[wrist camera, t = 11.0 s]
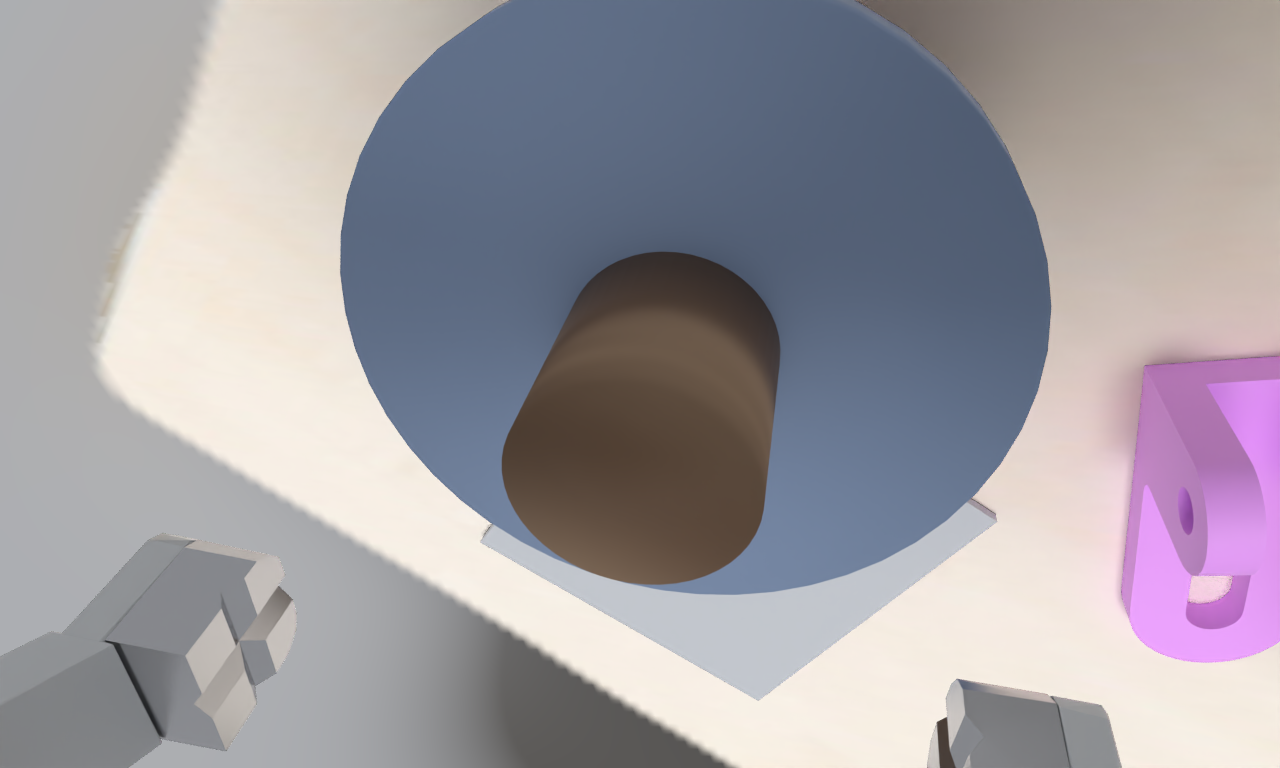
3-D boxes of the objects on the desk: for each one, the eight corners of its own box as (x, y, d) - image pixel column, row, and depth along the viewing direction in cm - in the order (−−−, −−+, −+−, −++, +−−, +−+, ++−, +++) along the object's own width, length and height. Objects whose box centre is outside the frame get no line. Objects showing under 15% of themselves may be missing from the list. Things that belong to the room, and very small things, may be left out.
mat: (664, 299, 31) (662, 304, 31) (995, 514, 33) (997, 521, 33) (483, 535, 39) (480, 542, 39) (758, 693, 42) (758, 700, 42)
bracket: (1143, 363, 29) (1215, 505, 23) (1343, 349, 28) (1470, 497, 22) (1115, 633, 36) (1165, 794, 30) (1274, 634, 34) (1358, 802, 29)
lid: (540, -234, 13) (397, -236, 9) (1216, 257, 15) (1357, 441, 11) (284, 370, 20) (142, 522, 16) (759, 640, 22) (740, 836, 18)
